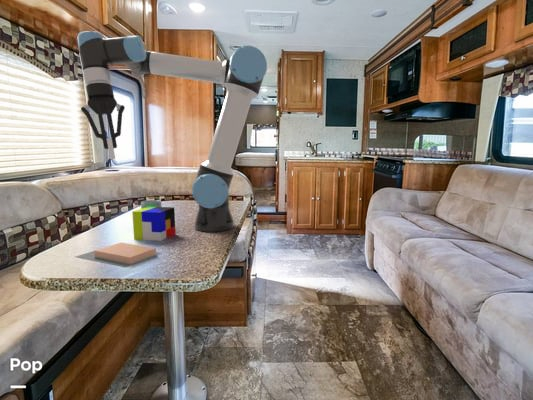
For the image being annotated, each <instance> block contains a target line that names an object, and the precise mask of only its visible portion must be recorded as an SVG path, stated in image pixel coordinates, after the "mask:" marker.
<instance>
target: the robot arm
mask: <svg viewBox="0 0 533 400" xmlns="http://www.w3.org/2000/svg"><path fill="white" fill-rule="evenodd" d="M77 46H78V47H77V48H78V51H79V52H78V53H79V57H80V61H81V65H82V73H83V77H84V82H85V85H86V86H85V89H86V92H87V94H86V95H87V99H88V100H87V104H86V105H85V106H82V107H81V108H80V111H81V112H82V113H83V115H84V116H86V118H87V120H88V123H89V125H90V127H91V129H92V132H93V134H94V136H95V138H97V139H101V140H102V144H103V148H104V150H108V155H109V160H116V155H115V149H117V148H118V145H117V139H116V138H118V137H120V136H121V135H122V134H121V133H122V124H123V123H122V120H123V119H122V118H123V113H124V111H125V105H121V104H119V103H118V101H117V100H116V99H115V96H114V95H115V94H114V88H113V85H112V79H111V74H110V67H109V66H110V65H120V64H123V65H125V66H126V67H127V68H128V69H129V70H130V71H131V72H133V73H134V74H137V75H145V74H149V75H158V76H163V77H164V76H165V77H170V78H176V79H177V78H178V79H185V80H191V81H192V80H193V81H199V82H204V83H205V82H206V83H213V84H220V85H222V87H223V88H225V89H226V95H225V98H224V101H223V104H222V108H221V111H220V115H219V118H218V120H217V124H216V128H215V131H214V135H213V138H212V140H211V145H210V148H209V151H208V154H207V157H206V160H205V161H204V162H203V161H202V162H201V163H200V165H199V169H198V170H197V175H196V178H195V180H194V182H193V184H192V186H191V193H192V197H193V199H194V200H195V202H196V203H197V204H198V210H197V213H196V217H195V221H194V229H195V230H197V231H200V232H209V233H210V232H211V233H212V232H215V233H216V232H223V231H224V232H225V231H229V230H231V229H234V227H235V223H234V219H233V215H232V212H231V210H230V197H229V196H230V195H229V194H230V193H229V192H230V191H229V190H230V188H231V184H232V180H233V177H234V172H233V170H232V165H233V162H234V158H235V156H236V153H237V149H238V145H239V142H240V140H241V136H242V133H243V130H244V126H245V123H246V120H247V118H248V113H249V111H250V107H251V104H252V102H253V99H256V98H258V96H259V93H260V90H261V87H262V84H263V81H264V78H265V76H266V74H267V70H268V63H267V59H266V55H265V54H264V52H262V51H261V50H260V49H259V48H258V47H256V46H253V45H243V46H240V47H238V48H237V49H235V50H234V51H233V52H232V54H231V56H230V59H225V60H223V61H219V60H211V59H206V58H205V59H204V58H199V57H191V56H183V55H179V54H178V55H177V54H170V53H165V52H156V51H151V50H150V51H149V50H146V45H145V43H144V41H143V38H142V37H141V36H139V35H126V36H119V37H112V38H111V37H110V38H104V37H103V35H102V34H101V33H100V32H97V31H93V30H92V31H89V30H86V31H81V32H79V33H78V35H77ZM115 108H116V111H117V122H116V132H115V127H114V123H113V119H112V118H113V117H112V114H113V112H114V111H115ZM91 110H92V112H94V113H95V114H96V115H98V116H97V117H98V122H99V127H100V133H99V130H98V127H97V125H96V124H95V121H94V119H93V116H92V115H91ZM104 115H106V118H107V123H108V127H109V133H110V137H109V138H107V132H106V127H105V121H104V117H103V116H104Z"/></svg>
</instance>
